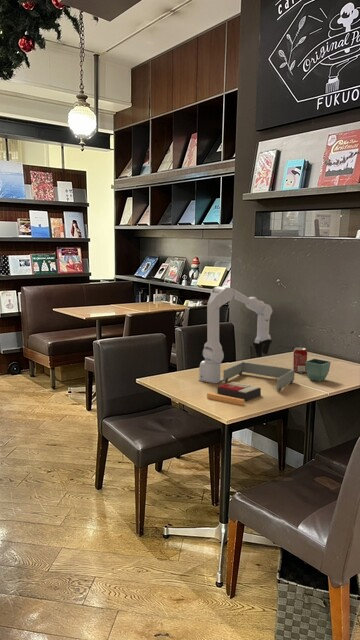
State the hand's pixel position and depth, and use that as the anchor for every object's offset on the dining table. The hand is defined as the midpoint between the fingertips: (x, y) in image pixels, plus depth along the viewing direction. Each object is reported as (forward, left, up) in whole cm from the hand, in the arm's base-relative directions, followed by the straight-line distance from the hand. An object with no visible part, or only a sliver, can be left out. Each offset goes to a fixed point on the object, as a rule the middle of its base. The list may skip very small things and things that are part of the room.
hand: (262, 355), depth 227 cm
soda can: (+14, +15, -10) cm, 23 cm away
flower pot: (+26, +5, -10) cm, 28 cm away
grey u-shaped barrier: (+5, -15, -9) cm, 18 cm away
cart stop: (+5, -48, -9) cm, 49 cm away
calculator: (+5, -37, -10) cm, 38 cm away
